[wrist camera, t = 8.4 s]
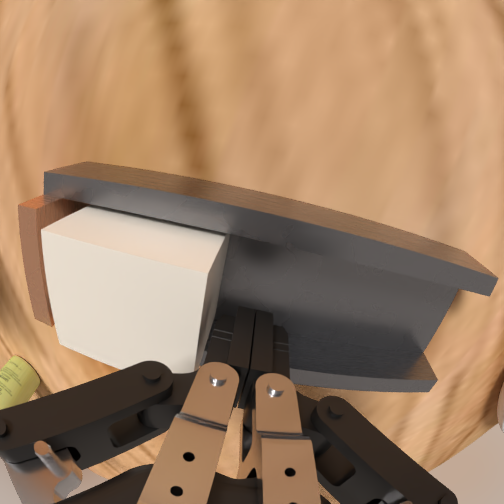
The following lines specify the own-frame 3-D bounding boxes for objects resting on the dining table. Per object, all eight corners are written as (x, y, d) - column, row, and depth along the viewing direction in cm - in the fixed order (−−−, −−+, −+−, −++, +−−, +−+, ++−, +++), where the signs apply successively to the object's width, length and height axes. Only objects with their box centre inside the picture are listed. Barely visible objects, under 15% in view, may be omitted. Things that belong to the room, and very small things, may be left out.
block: (233, 220, 14) (208, 273, 9) (215, 315, 17) (191, 391, 11) (111, 195, 14) (40, 229, 9) (110, 287, 17) (59, 343, 11)
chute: (464, 251, 15) (517, 295, 10) (411, 355, 19) (437, 412, 13) (86, 161, 15) (17, 179, 9) (86, 287, 18) (39, 334, 13)
